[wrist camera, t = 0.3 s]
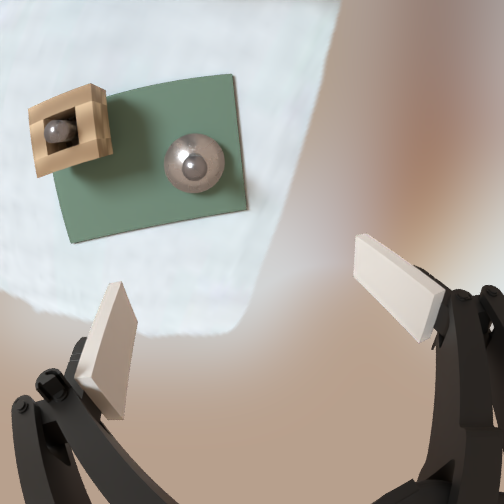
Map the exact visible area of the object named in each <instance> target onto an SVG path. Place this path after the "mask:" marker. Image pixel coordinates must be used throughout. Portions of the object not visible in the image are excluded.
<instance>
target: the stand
mask: <svg viewBox="0 0 504 504" xmlns="http://www.w3.org/2000/svg"><path fill="white" fill-rule="evenodd" d="M44 138H45V140H46V141H47V142H48V143H58V142H66V145H67V148H70V147H73V146H76V145H79V137H78V129H77V120H76V116H73V117H70V118H68V119H65V120H52V121H50V122H49V123H48V124H47V125H46V127H45V129H44Z"/></svg>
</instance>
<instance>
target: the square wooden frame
mask: <svg viewBox="0 0 504 504" xmlns="http://www.w3.org/2000/svg"><path fill="white" fill-rule="evenodd" d="M28 113H29V125H30V134H31V142H32V150H33V156H34V162H35V168H36V174H37V178H39V177H42V176H45V175H47V174H50V173H53V172H56V171H59V170H62V169H65V168H68V167H71V166H74V165H77V164H80V163H83V162H87V161H90V160H93V159H97V158H100V157H104V156H107V155H111V154H113V149H112V142H111V135H110V127H109V119H108V110H107V100H106V90H104V89H102V88H100V87H98V86H95V85H93V84H91V83H90V84H87V85H84V86H81V87H79V88H76V89H73V90H71V91H68V92H65V93H63V94H60V95H58V96H56V97H53V98H51V99H49V100H46V101H44V102H42V103H40V104H38V105H35V106H33V107H31V108H29V109H28ZM73 116H76V120H77V129H78V137H79V145H76V146H73V147H70V148H67V145H66V142H58V143H48V142H47V141H46V140H45V138H44V129H45V127H46V125H47V124H48V123H49V122H50V121H52V120H65V119H68V118H70V117H73Z"/></svg>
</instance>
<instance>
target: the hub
mask: <svg viewBox="0 0 504 504" xmlns="http://www.w3.org/2000/svg"><path fill="white" fill-rule="evenodd" d="M224 166H225V158H224V154H223V151H222V149H221V147H220V146H219V144H218V143H217V142H216V141H215V140H214V139H212V138H211V137H209V136H206V135H203V134H197V133H193V134H187V135H184V136H182V137H180V138H178V139H177V140H175V141H174V142H173V143H172V144H171V145H170V147H169V148H168V150H167V152H166V155H165V158H164V170H165V174H166V177H167V178H168V180H169V181H170V183H171V184H172V185H173V186H174V187H176V188H177V189H179V190H181V191H183V192H187V193H200V192H203V191H206V190H208V189H210V188H211V187H213V186H214V185H215V184H216V183H217V182H218V181H219V179H220V178H221V176H222V174H223V171H224Z"/></svg>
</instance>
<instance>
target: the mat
mask: <svg viewBox="0 0 504 504" xmlns="http://www.w3.org/2000/svg"><path fill="white" fill-rule="evenodd" d="M106 100H107V110H108V119H109V127H110V135H111V142H112V149H113V154H111V155H107V156H104V157H100V158H97V159H93V160H90V161H87V162H83V163H80V164H77V165H74V166H71V167H68V168H65V169H62V170H59V171H56V172H53V177H54V181H55V186H56V191H57V195H58V199H59V203H60V207H61V211H62V215H63V219H64V222H65V226H66V229H67V233H68V236H69V239H70V242H71V244H72V243H76V242H80V241H85V240H89V239H93V238H98V237H102V236H107V235H112V234H116V233H121V232H126V231H130V230H135V229H140V228H145V227H150V226H155V225H160V224H166V223H171V222H176V221H182V220H187V219H193V218H198V217H204V216H210V215H216V214H222V213H228V212H234V211H240V210H247V209H246V200H245V191H244V181H243V172H242V163H241V153H240V144H239V135H238V125H237V116H236V107H235V97H234V88H233V79H232V74H224V75H214V76H205V77H197V78H190V79H183V80H177V81H171V82H166V83H161V84H156V85H151V86H146V87H142V88H137V89H133V90H129V91H125V92H121V93H118V94H114V95H111V96H107V97H106ZM193 133H197V134H203V135H206V136H209V137H211V138H212V139H214V140H215V141H216V142H217V143H218V144H219V146H220V147H221V149H222V151H223V154H224V158H225V166H224V171H223V174H222V176H221V178H220V179H219V181H218V182H217V183H216V184H215V185H214V186H213V187H211V188H210V189H208V190H206V191H203V192H200V193H187V192H183V191H181V190H179V189H177V188H176V187H174V186H173V185H172V184H171V183H170V181H169V180H168V178H167V177H166V174H165V170H164V158H165V155H166V152H167V150H168V148H169V147H170V145H171V144H172V143H173V142H174V141H175V140H177V139H178V138H180V137H182V136H184V135H187V134H193Z"/></svg>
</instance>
